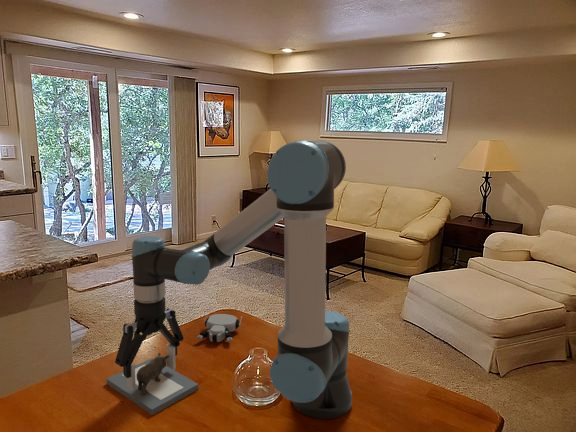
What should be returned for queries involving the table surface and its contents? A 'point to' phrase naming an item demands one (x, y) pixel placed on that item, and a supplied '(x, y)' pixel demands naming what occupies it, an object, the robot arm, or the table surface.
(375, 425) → the table surface
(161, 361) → the rhino figurine
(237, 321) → the robot toy
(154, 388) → the display plate
